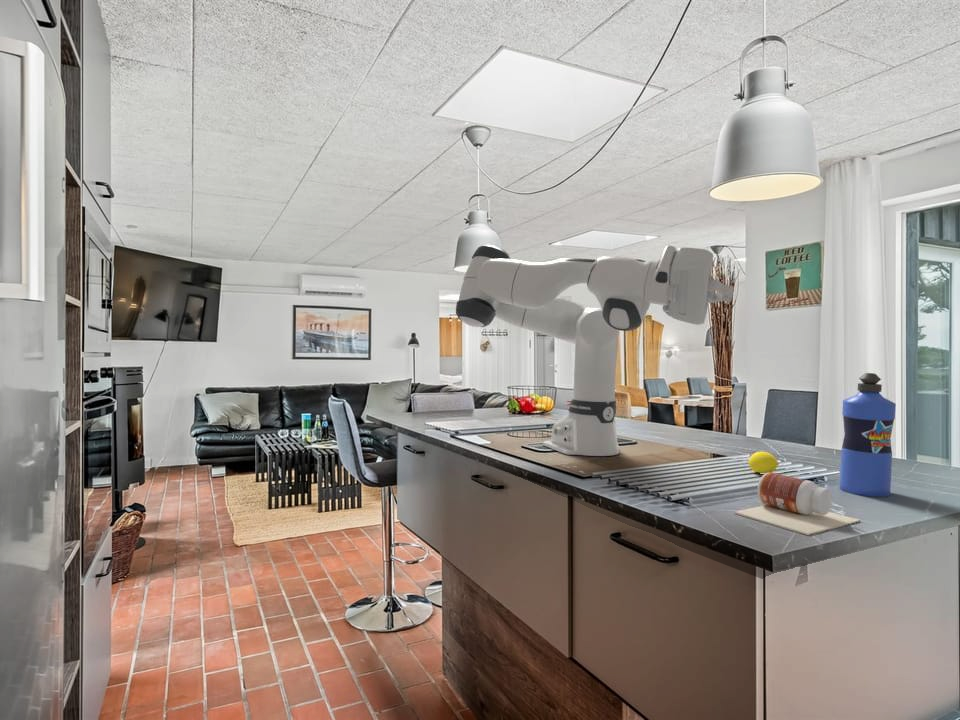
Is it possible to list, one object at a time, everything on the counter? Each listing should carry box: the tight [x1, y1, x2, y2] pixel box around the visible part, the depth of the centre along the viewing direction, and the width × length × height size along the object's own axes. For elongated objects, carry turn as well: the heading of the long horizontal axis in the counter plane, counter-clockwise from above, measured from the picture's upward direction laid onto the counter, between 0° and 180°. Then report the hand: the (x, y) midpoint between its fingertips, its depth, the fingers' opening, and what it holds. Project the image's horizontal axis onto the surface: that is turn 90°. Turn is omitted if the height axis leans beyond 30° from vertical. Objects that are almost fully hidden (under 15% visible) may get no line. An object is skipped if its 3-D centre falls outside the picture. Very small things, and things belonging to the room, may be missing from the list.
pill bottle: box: [756, 472, 833, 515], centre depth 109 cm, size 6×6×11 cm
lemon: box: [748, 451, 779, 473], centre depth 141 cm, size 7×5×5 cm
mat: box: [733, 504, 861, 536], centre depth 107 cm, size 14×16×1 cm
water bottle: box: [839, 372, 897, 498], centre depth 126 cm, size 9×9×25 cm
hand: (732, 294), depth 122 cm, fingers closed
